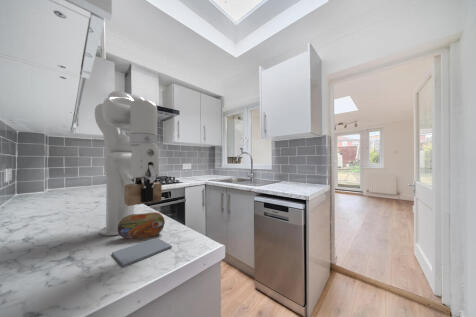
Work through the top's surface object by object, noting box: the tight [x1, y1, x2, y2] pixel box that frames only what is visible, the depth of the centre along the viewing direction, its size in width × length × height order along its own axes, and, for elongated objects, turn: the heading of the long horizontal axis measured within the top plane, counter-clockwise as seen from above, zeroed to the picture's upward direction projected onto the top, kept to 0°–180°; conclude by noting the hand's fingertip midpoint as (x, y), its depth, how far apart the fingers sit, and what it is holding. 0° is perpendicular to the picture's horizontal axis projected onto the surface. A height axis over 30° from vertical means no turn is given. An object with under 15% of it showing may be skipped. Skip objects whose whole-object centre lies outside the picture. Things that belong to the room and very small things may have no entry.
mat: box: [111, 237, 172, 268], centre depth 51 cm, size 10×13×1 cm
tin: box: [118, 211, 166, 240], centre depth 62 cm, size 15×3×8 cm, turn 105°
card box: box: [124, 182, 163, 206], centre depth 52 cm, size 9×4×6 cm, turn 135°
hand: (143, 199), depth 52 cm, fingers closed on card box, 4 cm apart
